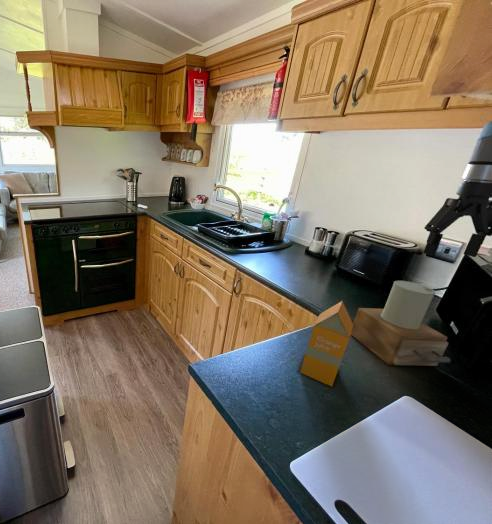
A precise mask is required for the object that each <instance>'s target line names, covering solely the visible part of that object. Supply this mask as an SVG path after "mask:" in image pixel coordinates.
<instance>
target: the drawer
mask: <svg viewBox="0 0 492 524" xmlns="http://www.w3.org/2000/svg"><path fill="white" fill-rule="evenodd" d="M448 345H449V342H448V341H447V340H446V341H445V340H431V339H402V341H401V343H400V346H399V348H398V350H397V353H396V355H395V357H394V359H393V362H392V363H394V364H395V365H394V366H417V367H419V366H423V367H425V366H426V367H427V366H428V367H438V365H439V364H441V363H443V364H448V363H451V358H449V357H448V356H443V355H444V353H445V352H446V350H447V348H448Z"/></svg>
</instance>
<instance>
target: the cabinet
mask: <svg viewBox="0 0 492 524" xmlns="http://www.w3.org/2000/svg"><path fill="white" fill-rule="evenodd" d="M383 310H384V308H372V307H371V308H370V307H358V309H357V311H356V314H355V317H354V319H353V322H352V323H353V329H352V332H351V336H352V337H353V338H355V339H356V340H357V341H358V342H360V343H361V344H362V345H363V346H365V347H366V348H367V349H368V350H370V352H372V353H374V354H375V355H376V356H377V357H378V358H379V359H381V360H382V361H383V362H385V364H387V365H389V366H396V365H395V364H394V363H392V362H393V359H394V357H395V355H396V353H397V350H398V348H399V346H400V343H401V341H402V339H431V340H445V341H447V339H448V336H446V335H444V334H442V333H440V332H439V331H438V330H436V329H434V328H432V327H431V326H428V325H427V324H425V323H424V322H421V325H420V328H419V329H416V330H411V329H405V328H401V327H398V326H395V325H393V324H390V323H388V322H387V321H385V320H384V319H382V317H381V314H382V312H383Z"/></svg>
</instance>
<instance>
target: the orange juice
mask: <svg viewBox="0 0 492 524" xmlns="http://www.w3.org/2000/svg"><path fill="white" fill-rule="evenodd" d="M352 329H353V322H352V320H351V317H350V314H349V312H348V310H347V308H346V306H345V304H344V302H343V300H341V301H339V302H338V303H336V304H334V305H333V306H331V307H329V308H328V309H326V310H324V311H322V312H320V313H319V315H318V317H317V319H316V321H315V322H314V324H313V327H312V332H311V333H310V338H309V342H308V345H307V347H306V351H305V354H304V359H303V361H302V365H301V368H300V371H299V373H300V374H303V375H305V376H307V377H310V378H312V379H314V380H316V381H318V382H320V383H322V384H325V385H327V386H329V387H332V388H333V385H334V382H335V379H336V377H337V374H338V371H339V369H340V366H341V363H342V361H343V357H344V354H345V352H346V351H347V350H346V349H347V346H348V344H349V341H350V339H351V336H352V335H351V332H352Z"/></svg>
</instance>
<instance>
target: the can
mask: <svg viewBox="0 0 492 524" xmlns="http://www.w3.org/2000/svg"><path fill="white" fill-rule="evenodd" d="M435 295H436V291H435V290H434V289H432V287H429V286H426V285H424V284H421V283H416V282H413V281H407V280H395V281H393V284H392V287H391V290H390V292H389V295H388V298H387V300H386V302H385V305H384V308H383V309H384V310H383V312H382V314H381V317H382V319H384V320H385V321H387V322H388V323H390V324H393V325H395V326H398V327H401V328H405V329H411V330H416V329H419V328H420V325H421V323H423V320H424V317H425V315H426V313H427V311H428V309H429V306H430V305H431V303H432V300H433V298H434V296H435Z"/></svg>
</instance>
